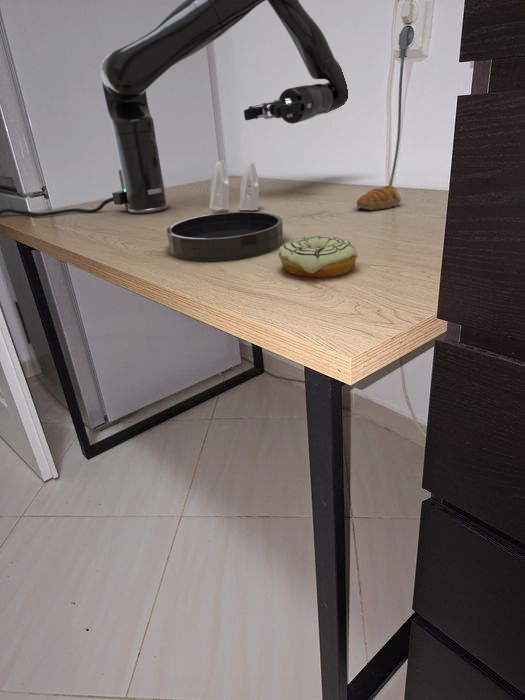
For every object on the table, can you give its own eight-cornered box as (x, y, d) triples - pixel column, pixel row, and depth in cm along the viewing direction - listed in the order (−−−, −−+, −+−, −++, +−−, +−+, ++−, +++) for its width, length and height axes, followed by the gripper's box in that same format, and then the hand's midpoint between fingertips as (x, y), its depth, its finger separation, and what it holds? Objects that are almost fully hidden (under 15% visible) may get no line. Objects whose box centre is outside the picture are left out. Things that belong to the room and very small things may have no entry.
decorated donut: (313, 286, 63) (312, 258, 62) (265, 269, 72) (263, 243, 70) (371, 267, 68) (372, 240, 67) (321, 253, 77) (320, 228, 75)
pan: (146, 254, 84) (142, 233, 82) (218, 227, 98) (216, 209, 96) (238, 267, 73) (235, 243, 72) (304, 235, 87) (303, 215, 86)
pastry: (373, 213, 99) (373, 193, 97) (348, 209, 103) (348, 190, 102) (403, 204, 104) (404, 185, 102) (377, 202, 108) (378, 183, 107)
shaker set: (211, 218, 106) (204, 163, 101) (206, 215, 109) (199, 161, 104) (263, 210, 109) (259, 156, 104) (256, 207, 113) (252, 155, 108)
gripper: (275, 89, 122) (233, 97, 111) (325, 83, 113) (285, 91, 103) (278, 122, 125) (238, 133, 115) (327, 118, 117) (288, 130, 107)
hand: (260, 113), depth 109 cm, fingers open, 8 cm apart
